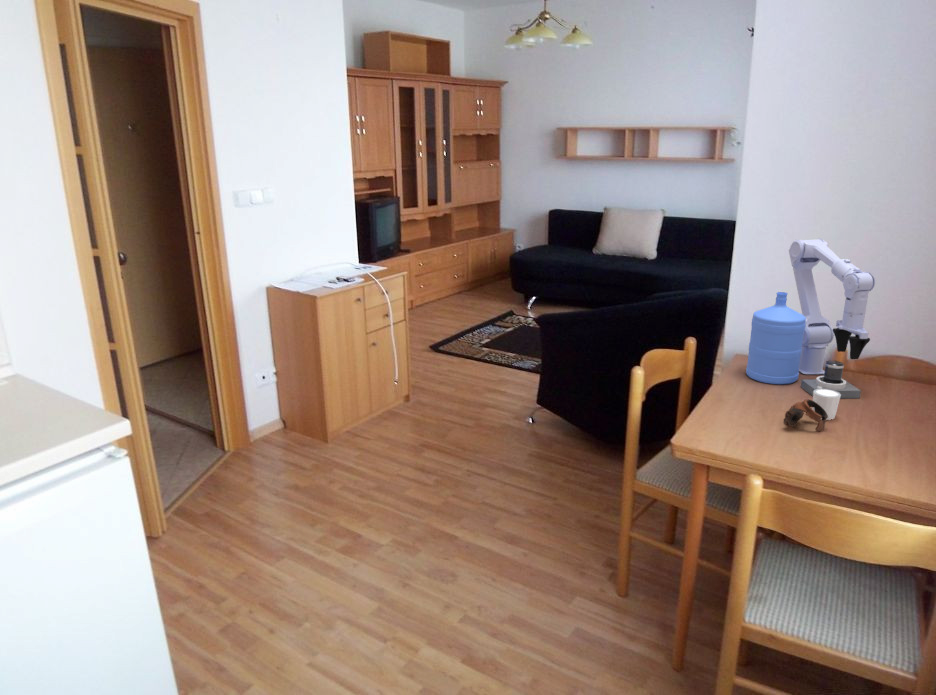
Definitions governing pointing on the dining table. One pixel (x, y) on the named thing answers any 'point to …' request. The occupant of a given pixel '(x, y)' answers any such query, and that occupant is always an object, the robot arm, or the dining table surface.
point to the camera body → (831, 387)
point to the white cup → (827, 401)
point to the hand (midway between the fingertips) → (847, 355)
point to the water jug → (776, 343)
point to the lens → (833, 372)
